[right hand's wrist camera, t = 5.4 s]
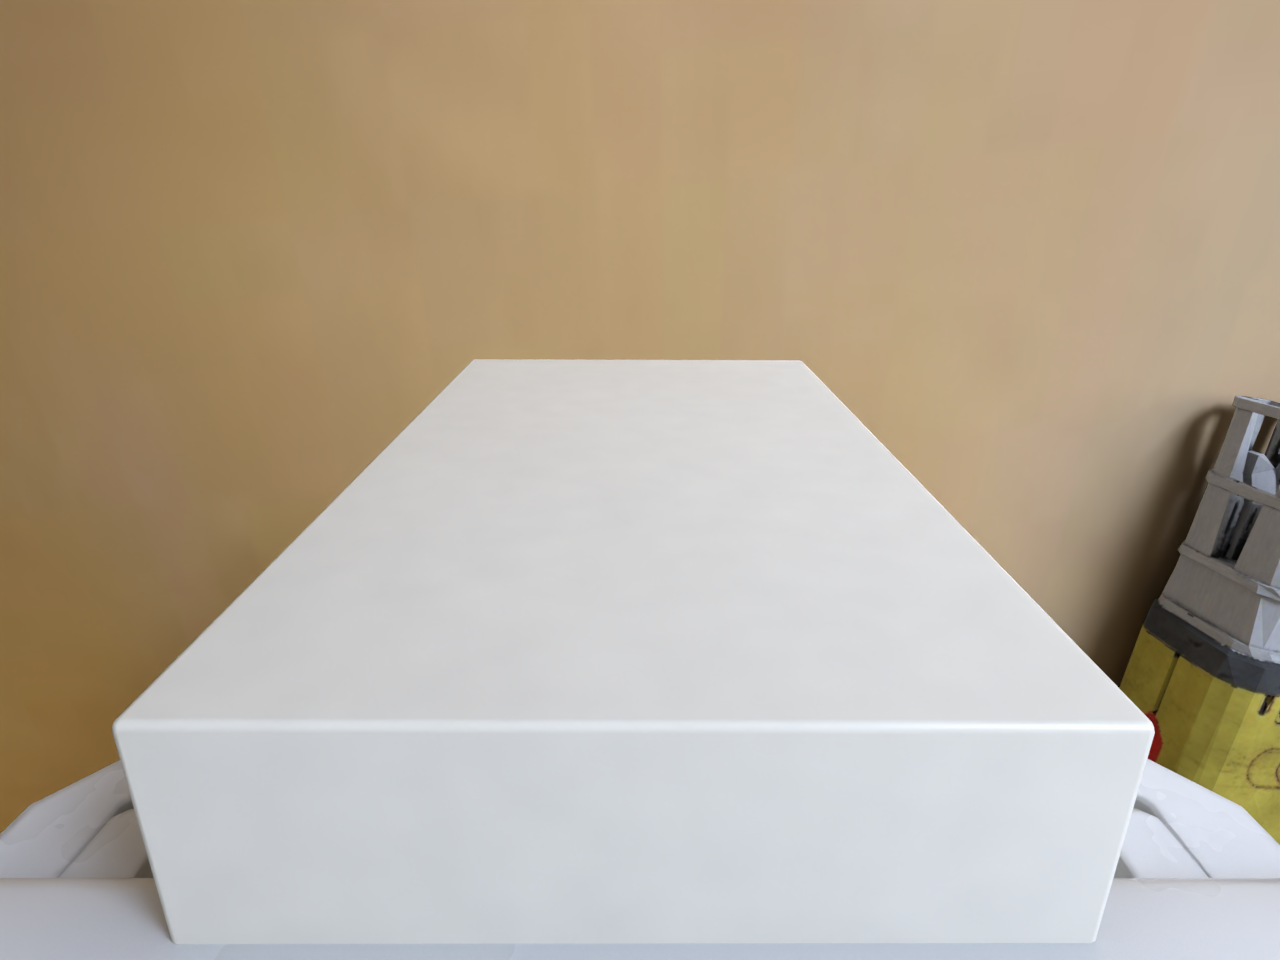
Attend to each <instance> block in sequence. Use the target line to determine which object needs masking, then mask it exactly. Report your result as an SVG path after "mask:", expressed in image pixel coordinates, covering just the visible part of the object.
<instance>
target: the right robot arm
mask: <svg viewBox="0 0 1280 960" xmlns="http://www.w3.org/2000/svg"><path fill="white" fill-rule="evenodd" d="M0 960H1280V845H1279V844H1278V843H1277V842H1276V841H1275V840H1274V839H1273V838H1272V837H1271V836H1270V835H1269V834H1268V833H1267V832H1266V830H1265V829H1264V828H1263V827H1262V826H1261V825H1260V824H1259V823H1258V822H1257V821H1256V820H1255V819H1254V818H1253V817H1252V816H1251V815H1250V814H1249V813H1248V812H1247V811H1246V810H1245V809H1244V808H1243V807H1242V806H1240V805H1238V804H1236V803H1234V802H1232V801H1230V800H1228V799H1226V798H1224V797H1222V796H1220V795H1218V794H1216V793H1214V792H1212V791H1210V790H1208V789H1206V788H1204V787H1202V786H1200V785H1198V784H1197V783H1195V782H1193V781H1191V780H1189V779H1187V778H1185V777H1183V776H1181V775H1179V774H1177V773H1175V772H1173V771H1171V770H1169V769H1167V768H1165V767H1163V766H1161V765H1159V764H1157V763H1155V762H1153V761H1151V760H1149V759H1147V762H1146V765H1145V769H1144V772H1143V776H1142V779H1141V783H1140V786H1139V790H1138V793H1137V797H1136V800H1135V804H1134V807H1133V811H1132V814H1131V818H1130V821H1129V825H1128V828H1127V832H1126V835H1125V839H1124V842H1123V846H1122V849H1121V853H1120V857H1119V860H1118V864H1117V867H1116V871H1115V874H1114V878H1113V881H1112V885H1111V888H1110V892H1109V895H1108V899H1107V902H1106V906H1105V909H1104V913H1103V916H1102V920H1101V923H1100V927H1099V930H1098V934H1097V937H1096V941H1094V942H1092V943H767V944H175V943H173V942H172V941H171V937H170V933H169V930H168V926H167V923H166V919H165V916H164V912H163V909H162V905H161V902H160V898H159V895H158V891H157V888H156V884H155V881H154V877H153V874H152V870H151V867H150V863H149V860H148V856H147V853H146V849H145V846H144V842H143V839H142V835H141V831H140V828H139V824H138V821H137V817H136V814H135V810H134V807H133V803H132V800H131V796H130V793H129V789H128V786H127V782H126V779H125V775H124V772H123V768H122V765H121V761H120V760H119V761H117V762H115V763H113V764H111V765H109V766H107V767H105V768H103V769H101V770H99V771H97V772H95V773H93V774H91V775H89V776H87V777H85V778H83V779H81V780H79V781H77V782H75V783H73V784H71V785H69V786H67V787H65V788H63V789H61V790H59V791H57V792H55V793H53V794H51V795H49V796H47V797H45V798H43V799H41V800H39V801H37V802H35V803H33V804H31V805H29V806H28V807H27V808H26V809H25V810H24V811H23V812H22V813H21V814H20V815H19V816H18V817H17V818H16V819H15V820H14V821H13V822H12V823H11V824H10V825H9V826H8V827H7V828H6V829H5V830H4V831H3V832H2V833H1V834H0Z"/></svg>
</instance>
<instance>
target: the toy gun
mask: <svg viewBox="0 0 1280 960" xmlns="http://www.w3.org/2000/svg"><path fill="white" fill-rule="evenodd" d="M1233 406H1235V407H1236V410H1235V413H1234V415H1233V418H1232V421H1231V423H1230V426H1229V429H1228V431H1227V434H1226V437H1225V439H1224V442H1223V445H1222V448H1221V450H1220V453H1219V456H1218V458H1217V461H1216V464H1215V466H1214V469H1210V470H1209V471H1208V473H1207V475H1206V477H1205V478H1206V481H1207V482H1208V485H1207V487H1206V490H1205V492H1204V495H1203V497H1202V500H1201V502H1200V505H1199V507H1198V510H1197V512H1196V515H1195V518H1194V520H1193V523H1192V525H1191V528H1190V530H1189V533H1188V535H1187V538H1186V540H1184V541H1183V543H1182V544H1181V546H1180V547H1179V548H1178V551H1179V553H1180V554H1181V555H1180V557H1179V560H1178V562H1177V564H1176V567H1175V569H1174V571H1173V572H1172V574H1171V576H1170V578H1169V580H1168V582H1167V584H1166V586H1165V588H1164V590H1163V592H1162V594H1161V596H1160V597H1159V598H1156V599H1154V601H1153V603H1152V605H1151V608H1150V610H1149V612H1148V614H1147V616H1146V618H1145V620H1144V623H1143V625H1142V628H1141V630H1140V633H1139V636H1138V639H1137V641H1136V644H1135V647H1134V649H1133V652H1132V655H1131V657H1130V660H1129V663H1128V665H1127V668H1126V671H1125V674H1124V676H1123V679H1122V682H1121V684H1120V687H1119V689H1120V690H1121V691H1122V692H1123V693H1124V694H1125V695H1126V696H1127V697H1128V698H1129V699H1130V700H1131V701H1132V702H1133V703H1134V704H1135V705H1136V706H1137V707H1138V708H1139V709H1140V710H1141V711H1142V712H1143V713H1144V714H1145V715H1146V716H1147V718H1148V719H1149V720H1150V721H1151V722H1152V724H1153V726H1154V731H1155V734H1154V737H1153V741H1152V744H1151V748H1150V751H1149V755H1148V758H1147V759H1149V760H1151V761H1153V762H1155V763H1157V764H1159V765H1161V766H1163V767H1165V768H1167V769H1169V770H1171V771H1173V772H1175V773H1177V774H1179V775H1181V776H1183V777H1185V778H1187V779H1189V780H1191V781H1193V782H1195V783H1197V784H1198V785H1200V786H1202V787H1204V788H1206V789H1208V790H1210V791H1212V792H1214V793H1216V794H1218V795H1220V796H1222V797H1224V798H1226V799H1228V800H1230V801H1232V802H1234V803H1236V804H1238V805H1240V806H1242V807H1243V808H1244V809H1245V810H1246V811H1247V812H1248V813H1249V814H1250V815H1251V816H1252V817H1253V818H1254V819H1255V820H1256V821H1257V822H1258V823H1259V824H1260V825H1261V826H1262V827H1263V828H1264V829H1265V830H1266V832H1267V833H1268V834H1269V835H1270V836H1271V837H1272V838H1273V839H1274V840H1275V841H1276V842H1277V843H1278V844H1279V845H1280V403H1277V402H1273V401H1270V400H1265V399H1261V398H1253V397H1245V396H1235V398H1234V402H1233ZM1265 416H1269V417H1272V418H1276V419H1278V421H1277V424H1276V427H1275V429H1274V432H1273V434H1272V437H1271V439H1270V442H1269V444H1268V447H1267V450H1266V452H1265V454H1262V453H1258V452H1255V451H1252V448H1253V445H1254V443H1255V440H1256V438H1257V435H1258V432H1259V430H1260V427H1261V425H1262V422H1263V420H1264V417H1265Z"/></svg>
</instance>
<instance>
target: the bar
mask: <svg viewBox="0 0 1280 960" xmlns="http://www.w3.org/2000/svg"><path fill="white" fill-rule="evenodd" d="M112 733H113V737H114V740H115V744H116V747H117V751H118V754H119V758H120V761H121V765H122V768H123V772H124V775H125V779H126V782H127V786H128V789H129V793H130V796H131V800H132V803H133V807H134V810H135V814H136V817H137V821H138V824H139V828H140V831H141V835H142V839H143V842H144V846H145V849H146V853H147V856H148V860H149V863H150V867H151V870H152V874H153V877H154V881H155V884H156V888H157V891H158V895H159V898H160V902H161V905H162V909H163V912H164V916H165V919H166V923H167V926H168V930H169V933H170V937H171V941H172V942H173V943H175V944H767V943H1092V942H1094V941H1096V937H1097V934H1098V930H1099V927H1100V923H1101V920H1102V916H1103V913H1104V909H1105V906H1106V902H1107V899H1108V895H1109V892H1110V888H1111V885H1112V881H1113V878H1114V874H1115V871H1116V867H1117V864H1118V860H1119V857H1120V853H1121V849H1122V846H1123V842H1124V839H1125V835H1126V832H1127V828H1128V825H1129V821H1130V818H1131V814H1132V811H1133V807H1134V804H1135V800H1136V797H1137V793H1138V790H1139V786H1140V783H1141V779H1142V776H1143V772H1144V769H1145V765H1146V762H1147V758H1148V755H1149V751H1150V748H1151V744H1152V741H1153V737H1154V734H1155V731H1154V726H1153V724H1152V722H1151V721H1150V720H1149V719H1148V718H1147V716H1146V715H1145V714H1144V713H1143V712H1142V711H1141V710H1140V709H1139V708H1138V707H1137V706H1136V705H1135V704H1134V703H1133V702H1132V701H1131V700H1130V699H1129V698H1128V697H1127V696H1126V695H1125V694H1124V693H1123V692H1122V691H1121V690H1120V689H1119V688H1118V687H1117V686H1116V685H1115V683H1114V682H1113V681H1112V680H1111V679H1110V678H1109V677H1108V676H1107V675H1106V674H1105V673H1104V672H1103V671H1102V670H1101V669H1100V668H1099V667H1098V666H1097V665H1096V664H1095V663H1094V662H1093V661H1092V660H1091V659H1090V658H1089V657H1088V656H1087V655H1086V654H1085V653H1084V652H1083V650H1082V649H1081V648H1080V647H1079V646H1078V645H1077V644H1076V643H1075V642H1074V641H1073V640H1072V639H1071V638H1070V637H1069V636H1068V635H1067V634H1066V633H1065V632H1064V631H1063V630H1062V629H1061V628H1060V627H1059V626H1058V625H1057V624H1056V623H1055V622H1054V621H1053V620H1052V618H1051V617H1050V616H1049V615H1048V614H1047V613H1046V612H1045V611H1044V610H1043V609H1042V608H1041V607H1040V606H1039V605H1038V604H1037V603H1036V602H1035V601H1034V600H1033V599H1032V598H1031V597H1030V596H1029V595H1028V594H1027V593H1026V592H1025V591H1024V590H1023V589H1022V588H1021V587H1020V585H1019V584H1018V583H1017V582H1016V581H1015V580H1014V579H1013V578H1012V577H1011V576H1010V575H1009V574H1008V573H1007V572H1006V571H1005V570H1004V569H1003V568H1002V567H1001V566H1000V565H999V564H998V563H997V562H996V561H995V560H994V559H993V558H992V557H991V556H990V555H989V554H988V552H987V551H986V550H985V549H984V548H983V547H982V546H981V545H980V544H979V543H978V542H977V541H976V540H975V539H974V538H973V537H972V536H971V535H970V534H969V533H968V532H967V531H966V530H965V529H964V528H963V527H962V526H961V525H960V524H959V523H958V522H957V521H956V519H955V518H954V517H953V516H952V515H951V514H950V513H949V512H948V511H947V510H946V509H945V508H944V507H943V506H942V505H941V504H940V503H939V502H938V501H937V500H936V499H935V498H934V497H933V496H932V495H931V494H930V493H929V492H928V491H927V490H926V489H925V488H924V486H923V485H922V484H921V483H920V482H919V481H918V480H917V479H916V478H915V477H914V476H913V475H912V474H911V473H910V472H909V471H908V470H907V469H906V468H905V467H904V466H903V465H902V464H901V463H900V462H899V461H898V460H897V459H896V458H895V457H894V456H893V454H892V453H891V452H890V451H889V450H888V449H887V448H886V447H885V446H884V445H883V444H882V443H881V442H880V441H879V440H878V439H877V438H876V437H875V436H874V435H873V434H872V433H871V432H870V431H869V430H868V429H867V428H866V427H865V426H864V425H863V424H862V423H861V421H860V420H859V419H858V418H857V417H856V416H855V415H854V414H853V413H852V412H851V411H850V410H849V409H848V408H847V407H846V406H845V405H844V404H843V403H842V402H841V401H840V400H839V399H838V398H837V397H836V396H835V395H834V394H833V393H832V392H831V391H830V390H829V388H828V387H827V386H826V385H825V384H824V383H823V382H822V381H821V380H820V379H819V378H818V377H817V376H816V375H815V374H814V373H813V372H812V371H811V370H810V369H809V368H808V367H807V366H806V365H805V364H804V363H803V362H802V361H800V360H512V359H474V360H472V361H471V362H470V363H469V364H468V365H467V366H466V367H465V368H464V369H463V370H462V371H461V372H460V373H459V374H458V375H457V376H456V377H455V378H454V379H453V380H452V381H451V382H450V383H449V384H448V385H447V386H446V387H445V388H444V389H443V390H442V391H441V392H440V393H439V394H438V395H437V396H436V397H435V398H434V399H433V400H432V402H431V403H430V404H429V405H428V406H427V407H426V408H425V409H424V410H423V411H422V412H421V413H420V414H419V415H418V416H417V417H416V418H415V419H414V420H413V421H412V422H411V423H410V424H409V425H408V426H407V427H406V428H405V429H404V430H403V431H402V432H401V433H400V434H399V435H398V436H397V437H396V438H395V439H394V440H393V441H392V442H391V443H390V444H389V445H388V446H387V447H386V448H385V449H384V450H383V451H382V452H381V453H380V454H379V455H378V456H377V457H376V458H375V459H374V460H373V461H372V462H371V463H370V464H369V465H368V466H367V467H366V468H365V469H364V470H363V471H362V472H361V473H360V474H359V475H358V476H357V477H356V478H355V479H354V480H353V481H352V482H351V483H350V484H349V485H348V486H347V487H346V488H345V489H344V490H343V491H342V492H341V493H340V494H339V495H338V496H337V497H336V498H335V499H334V500H333V501H332V502H331V503H330V504H329V505H328V506H327V507H326V508H325V509H324V510H323V511H322V512H321V513H320V514H319V515H318V516H317V517H316V518H315V519H314V520H313V521H312V522H311V523H310V524H309V525H308V526H307V527H306V528H305V529H304V530H303V531H302V532H301V533H300V534H299V535H298V536H297V537H296V538H295V539H294V540H293V541H292V542H291V543H290V544H289V545H288V546H287V547H286V548H285V549H284V550H283V551H282V553H281V554H280V555H279V556H278V557H277V558H276V559H275V560H274V561H273V562H272V563H271V564H270V565H269V566H268V567H267V568H266V569H265V570H264V571H263V572H262V573H261V574H260V575H259V576H258V577H257V578H256V579H255V580H254V581H253V582H252V583H251V584H250V585H249V586H248V587H247V588H246V589H245V590H244V591H243V592H242V593H241V594H240V595H239V596H238V597H237V598H236V599H235V600H234V601H233V602H232V603H231V604H230V605H229V606H228V607H227V608H226V609H225V610H224V611H223V612H222V613H221V614H220V615H219V616H218V617H217V618H216V619H215V620H214V621H213V622H212V623H211V624H210V625H209V626H208V627H207V628H206V629H205V630H204V631H203V632H202V633H201V634H200V635H199V636H198V637H197V638H196V639H195V640H194V641H193V642H192V643H191V644H190V645H189V646H188V647H187V648H186V649H185V650H184V651H183V652H182V653H181V654H180V655H179V656H178V657H177V658H176V659H175V660H174V661H173V662H172V663H171V664H170V665H169V666H168V667H167V668H166V669H165V670H164V671H163V672H162V673H161V674H160V675H159V676H158V677H157V678H156V679H155V680H154V681H153V682H152V683H151V684H150V685H149V686H148V687H147V688H146V689H145V690H144V691H143V692H142V693H141V694H140V695H139V696H138V697H137V698H136V699H135V700H134V701H133V702H132V703H131V705H130V706H129V707H128V708H127V709H126V710H125V711H124V712H123V713H122V714H121V715H120V716H119V717H118V718H117V719H116V720H115V721H114V724H113V727H112Z"/></svg>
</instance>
